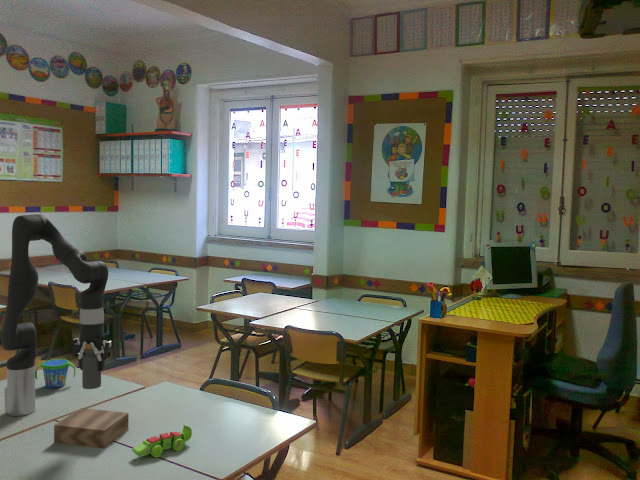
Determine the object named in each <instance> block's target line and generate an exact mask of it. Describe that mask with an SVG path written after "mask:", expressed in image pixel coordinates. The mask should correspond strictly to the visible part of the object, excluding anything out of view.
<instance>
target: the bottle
mask: <svg viewBox="0 0 640 480" xmlns="http://www.w3.org/2000/svg"><path fill="white" fill-rule="evenodd" d="M95 345H96V344H95ZM98 351H100V349H98ZM84 352H85V354H84V355H83V357H82V370H81V371H82V373H81V374H82V375H81V377H82V379H81V380H82V388H83V389H85V390H93V389H94V390H95V389H98V388H100V387H102V371H101V372H98V361H99V360H98V358H97V355H95V353H94V350H93V348H92V344H90V343H88V344H85V349H84Z"/></svg>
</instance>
